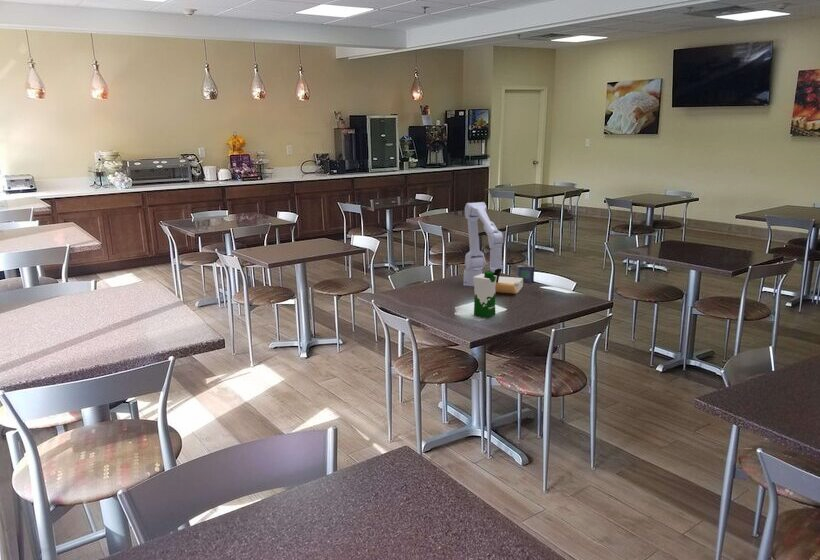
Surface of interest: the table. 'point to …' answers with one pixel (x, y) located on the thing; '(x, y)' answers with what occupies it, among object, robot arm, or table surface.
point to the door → (505, 288)
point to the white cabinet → (512, 282)
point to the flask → (526, 273)
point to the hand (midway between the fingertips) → (495, 283)
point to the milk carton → (484, 294)
